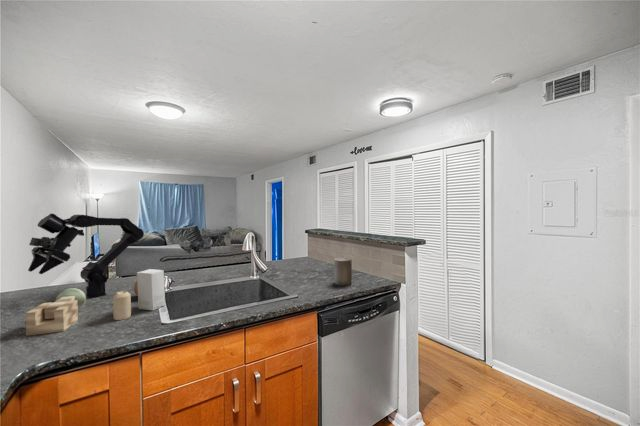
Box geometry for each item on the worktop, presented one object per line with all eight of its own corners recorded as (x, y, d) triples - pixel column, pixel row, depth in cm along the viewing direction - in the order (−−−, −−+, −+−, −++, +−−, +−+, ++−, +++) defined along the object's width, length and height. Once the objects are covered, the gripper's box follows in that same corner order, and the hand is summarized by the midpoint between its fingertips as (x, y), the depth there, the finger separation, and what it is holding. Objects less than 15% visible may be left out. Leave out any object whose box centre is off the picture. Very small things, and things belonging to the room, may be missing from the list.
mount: (44, 323, 102) (43, 302, 101) (78, 319, 105) (77, 299, 105) (26, 335, 92) (25, 313, 92) (63, 331, 95) (63, 309, 95)
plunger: (58, 311, 109) (57, 289, 109) (86, 309, 112) (85, 287, 112) (35, 327, 96) (34, 301, 96) (68, 323, 99) (67, 298, 99)
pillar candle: (355, 283, 154) (355, 256, 154) (343, 287, 147) (343, 258, 147) (342, 280, 161) (342, 254, 161) (330, 283, 154) (330, 256, 154)
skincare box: (165, 305, 119) (165, 269, 119) (151, 311, 113) (151, 273, 112) (151, 303, 122) (150, 268, 121) (136, 308, 116) (136, 271, 115)
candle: (112, 321, 103) (111, 294, 103) (115, 316, 108) (114, 290, 108) (130, 318, 106) (129, 292, 106) (132, 313, 111) (131, 288, 111)
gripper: (33, 228, 118) (1, 261, 110) (55, 230, 111) (22, 265, 102) (59, 241, 127) (32, 273, 118) (82, 244, 119) (54, 278, 111)
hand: (34, 272), depth 112 cm, fingers open, 9 cm apart
